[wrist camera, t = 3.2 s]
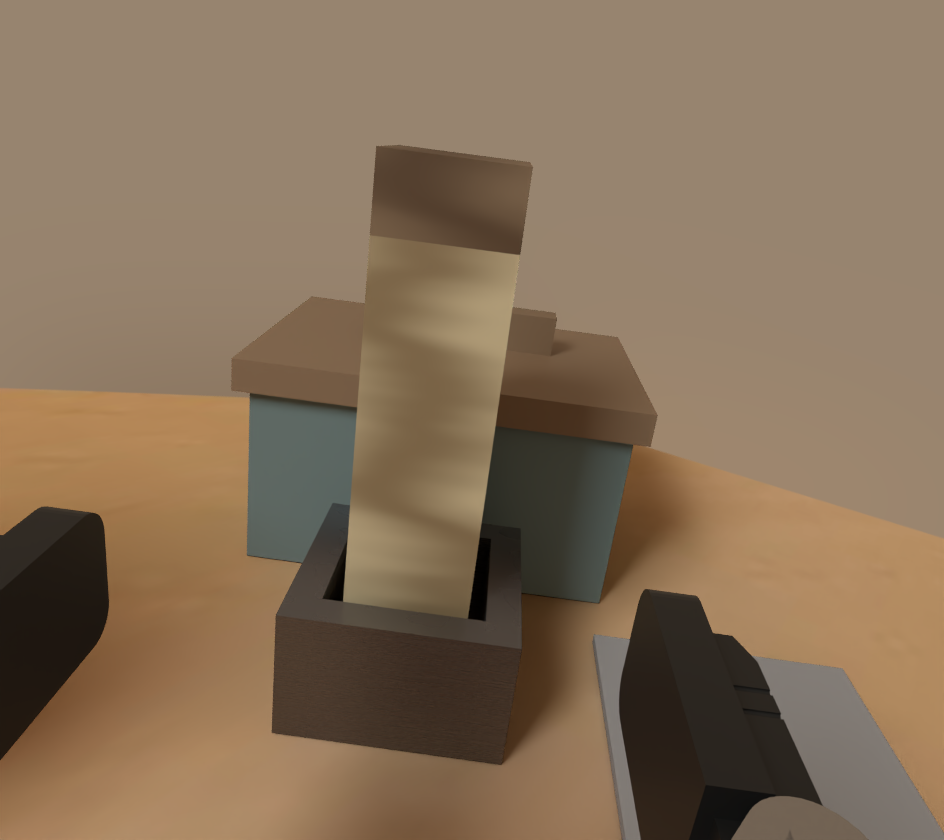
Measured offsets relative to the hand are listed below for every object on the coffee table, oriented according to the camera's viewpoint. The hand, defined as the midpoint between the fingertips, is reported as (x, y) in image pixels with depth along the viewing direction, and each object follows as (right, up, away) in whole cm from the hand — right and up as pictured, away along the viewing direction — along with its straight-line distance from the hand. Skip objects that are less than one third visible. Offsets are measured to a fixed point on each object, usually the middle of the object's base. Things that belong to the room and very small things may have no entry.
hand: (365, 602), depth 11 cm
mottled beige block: (-1, -5, +13) cm, 15 cm away
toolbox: (0, -2, +23) cm, 23 cm away
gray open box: (-1, -5, +13) cm, 14 cm away
